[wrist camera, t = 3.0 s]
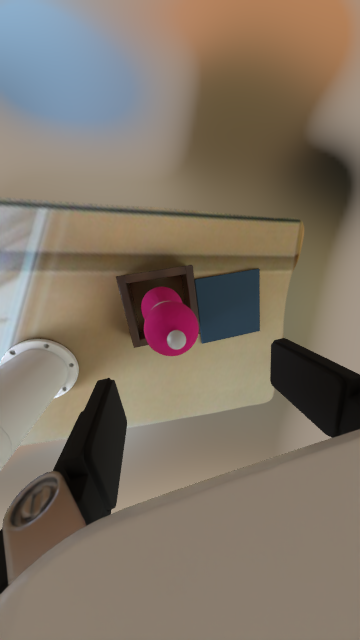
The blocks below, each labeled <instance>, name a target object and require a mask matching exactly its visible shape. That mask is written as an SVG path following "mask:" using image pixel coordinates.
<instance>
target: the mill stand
mask: <svg viewBox="0 0 360 640" xmlns="http://www.w3.org/2000/svg"><path fill="white" fill-rule="evenodd" d="M176 275H181V277H182V284H183V291H184V298H185V305H186V306H187V307H189V308H190V309H191V310H192V311H193V313H194V314H195V316H196V318H197V321H198V326H199V331H198V334H200V325H199V316H198V308H197V299H196V291H195V282H194V274H193V266H192V265H188V266H181V267H175V268H169V269H162V270H156V271H149V272H143V273H136V274H130V275H123V276H117V277H116V279H117V283H118V287H119V291H120V295H121V299H122V303H123V307H124V310H125V314H126V318H127V322H128V326H129V330H130V334H131V338H132V342H133V346H134V348H136V347H140V346H145V345H149V344H148V343H147V340H146V338H145V335H144V331H141V332H140V327H139V323H138V319H137V314H136V310H135V306H134V302H133V297H132V293H131V289H130V285H129V283H133V282H139V281H145V280H152V279H158V278H164V277H170V276H176Z"/></svg>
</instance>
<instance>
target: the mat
mask: <svg viewBox="0 0 360 640" xmlns="http://www.w3.org/2000/svg"><path fill="white" fill-rule="evenodd" d="M194 281H195V289H196V298H197V306H198V315H199V323H200V332H201V340H202V343H207V342H212V341H216V340H221V339H225V338H230V337H234V336H238V335H243V334H247V333H252V332H256V331H260V310H259V269H254V270H248V271H242V272H236V273H230V274H224V275H218V276H212V277H206V278H200V279H194Z"/></svg>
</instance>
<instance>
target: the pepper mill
mask: <svg viewBox="0 0 360 640" xmlns="http://www.w3.org/2000/svg"><path fill="white" fill-rule="evenodd" d="M141 311H142V315H143V317H144V319H145V322H144V335H145V338H146V340H147V343H148V344H149V346H150V347H151V348H152V349H153V350H154V351H156V352H158V353H160V354H162V355H166V356H177V355H180V354H183V353H185V352H186V351H188V350H189V349H190V348H191V347H192V346H193V344H194V343H195V341H196V339H197V337H198V331H199V326H198V321H197V318H196V316H195V314H194V313H193V311H192V310H191V309H190V308H189V307H187V306H186V305H184V304H182V300H181V298H180V297H179V295H178V294H177V293H176V292H175V291H174V290H172V289H171V288H168V287H156V288H153V289H151V290H150V291H148V292H147V293H146V294H145V296H144V297H143V300H142V303H141Z"/></svg>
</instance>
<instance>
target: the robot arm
mask: <svg viewBox="0 0 360 640" xmlns="http://www.w3.org/2000/svg"><path fill="white" fill-rule="evenodd" d="M78 374H79V366H78V363H77V360H76V358H75V356H74V355H73V354H72V353H71V352H70V351H69V350H68V349H67V348H66V347H64V346H63V345H61V344H59V343H57V342H54V341H51V340H46V339H31V340H26V341H23V342H21V343H19V344H17V345H15V346H13V347H12V348H10V349H9V350H8V351H7V352H6V353H5V354H4V356H3V357H2V360H1V363H0V471H1V469H2V468H3V467H4V465H5V464H6V463H7V461H8V460H9V458H10V457H11V456H12V454H13V453H14V452H15V450H16V449H17V448H18V446H19V445H20V444H21V442H22V441H23V440H24V438H25V437H26V435H27V434H28V433H29V431H30V430H31V429H32V427H33V426H34V425H35V423H36V422H37V420H38V419H39V418H40V416H41V415H42V414H43V412H44V411H45V410H46V408H47V407H48V405H49V404H50V403H51V401H52V400H53V399H54V398H56V397H59V396H61V395H63V394H65V393H66V392H67V391H69V390H70V389H71V388H72V387H73V385H74V384H75V382H76V380H77V378H78ZM270 380H271V384H272V385H273V386H274V387H275V388H276V389H277V390H278V391H279V392H280V393H281V394H282V395H283V396H284V397H286V398H287V399H288V400H289V401H290V402H291V403H292V404H293V405H294V406H295V407H296V408H298V409H299V410H300V411H301V412H302V413H303V414H304V415H305V416H306V417H307V418H308V419H310V420H311V421H312V422H313V423H314V424H315V425H316V426H317V427H318V428H320V429H321V430H322V431H323V432H324V433H325V434H326V435H328V436H331V437H332V438H331V439H328V440H325V441H321V442H319V443H315V444H312V445H309V446H306V447H303V448H300V449H297V450H294V451H291V452H288V453H285V454H282V455H279V456H276V457H273V458H270V459H267V460H264V461H261V462H258V463H255V464H252V465H249V466H246V467H243V468H240V469H237V470H234V471H231V472H228V473H225V474H222V475H219V476H216V477H213V478H210V479H207V480H204V481H202V482H198V483H195V484H193V485H189V486H187V487H184V488H181V489H178V490H175V491H172V492H169V493H166V494H163V495H161V496H158V497H155V498H152V499H150V500H147V501H144V502H142V503H139V504H136V505H133V506H130V507H128V508H125V509H123V510H120V511H118V512H115V513H113V514H111V509H113V508H115V506H116V502H117V495H118V488H119V480H120V473H121V465H122V458H123V450H124V443H125V435H126V428H127V419H126V416H125V412H124V409H123V406H122V403H121V400H120V396H119V393H118V390H117V387H116V384H115V381H114V380H111V379H110V378H107V379H103V380H99V381H97V383H96V385H95V388H94V390H93V392H92V394H91V396H90V399H89V401H88V403H87V405H86V407H85V409H84V411H82V412H81V413H80V415H79V417H78V419H77V421H76V423H75V425H74V427H73V429H72V432H71V434H70V436H69V438H68V440H67V442H66V444H65V446H64V449H63V451H62V453H61V455H60V457H59V459H58V461H57V463H56V465H55V467H54V470H53V471H51V472H47V473H45V474H43V475H41V476H39V477H37V478H36V479H34V480H33V481H32V482H30V483H29V484H28V485H27V486H26V487H25V488H24V489H23V490H22V491H21V492H20V493H19V494H18V495H17V496H16V498H15V499H14V500H13V502H12V503H11V505H10V506H9V508H8V510H7V512H6V514H5V517H4V519H3V527H2V529H1V531H0V640H360V375H359V374H357V373H355V372H353V371H351V370H349V369H347V368H345V367H343V366H341V365H339V364H337V363H335V362H333V361H331V360H329V359H327V358H324V357H322V356H320V355H318V354H316V353H314V352H312V351H310V350H308V349H306V348H304V347H302V346H300V345H298V344H296V343H294V342H292V341H290V340H288V339H285V338H282V339H278V340H274V342H273V343H272V345H271V377H270Z"/></svg>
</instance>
